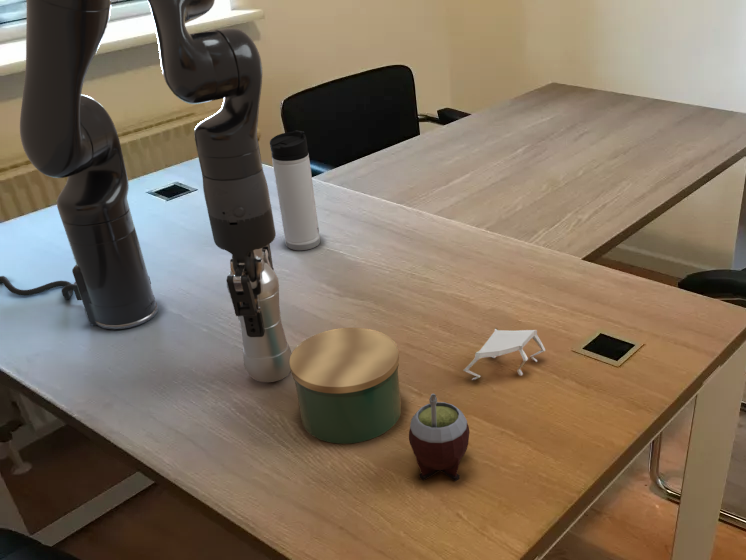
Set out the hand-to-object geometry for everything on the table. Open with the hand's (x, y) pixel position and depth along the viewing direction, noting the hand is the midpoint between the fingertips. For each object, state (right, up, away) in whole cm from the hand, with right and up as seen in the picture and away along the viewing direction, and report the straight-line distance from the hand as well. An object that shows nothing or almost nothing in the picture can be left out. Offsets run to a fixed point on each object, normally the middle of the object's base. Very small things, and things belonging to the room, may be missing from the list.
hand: (261, 322), depth 108 cm
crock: (+13, -12, -2) cm, 17 cm away
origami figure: (+32, -7, +7) cm, 33 cm away
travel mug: (-4, +17, +40) cm, 44 cm away
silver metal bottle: (0, -7, +5) cm, 9 cm away
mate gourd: (+25, -19, -11) cm, 33 cm away
